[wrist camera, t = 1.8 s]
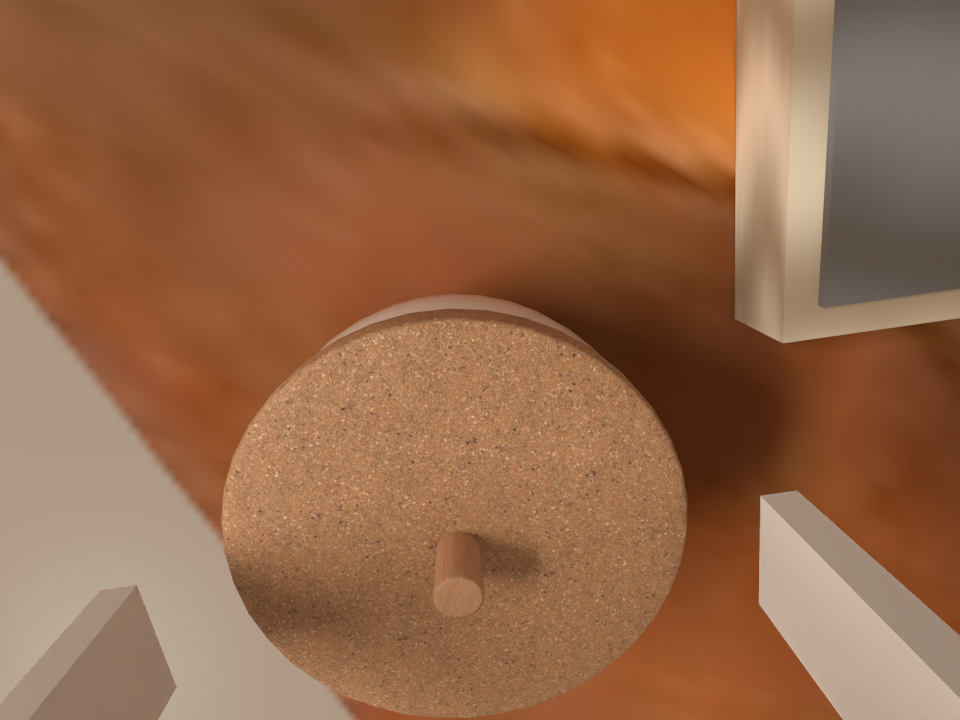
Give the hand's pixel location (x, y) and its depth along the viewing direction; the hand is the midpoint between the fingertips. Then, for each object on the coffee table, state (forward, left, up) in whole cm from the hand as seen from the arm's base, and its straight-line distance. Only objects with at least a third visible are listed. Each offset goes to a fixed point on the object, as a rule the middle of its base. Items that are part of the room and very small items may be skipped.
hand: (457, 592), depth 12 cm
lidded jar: (0, 0, -9) cm, 9 cm away
